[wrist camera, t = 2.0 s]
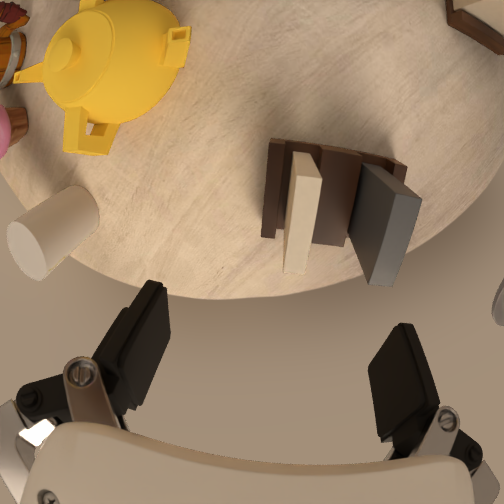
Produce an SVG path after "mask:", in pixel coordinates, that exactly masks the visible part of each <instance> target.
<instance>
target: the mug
mask: <svg viewBox="0 0 504 504" xmlns="http://www.w3.org/2000/svg"><path fill="white" fill-rule="evenodd" d="M26 13H27V11H26V10H24V9H22V8H20V5H17V4H15V3H14V2H10V3H5V2H4V1H2V2H0V21H1V22H5V23H7V24H5V25H4V26H3V27H1V28H0V89H2V88H5V87H7V86H9V85H11V84H12V83H13V81H14V73H16V72H19V71H20V67H21V66H22V64H23V59H24V57H25V52H26V37H25V35H23V34H22V33H21V32H17V30H15V29H16V28H19V27H21V26H24V25H26V24H27V22H28V21H29V19H30V17H28V16H27V15H26Z"/></svg>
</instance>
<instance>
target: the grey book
mask: <svg viewBox="0 0 504 504" xmlns="http://www.w3.org/2000/svg"><path fill="white" fill-rule="evenodd" d="M421 203H422V199H421V198H420V197H419V196H418V195H417V194H415V193H414V192H413V191H412V190H411V189H409V188H408V187H407V186H406V185H404V184H403V183H402V182H401V181H399V180H398V179H397V178H395V177H394V176H393V175H392V174H390V173H389V172H388V171H386V170H385V169H383V168H382V167H381V166H378V165H373V164H368V163H363V162H362V164H361V169H360V175H359V180H358V185H357V190H356V195H355V200H354V204H353V209H352V213H351V218H350V222H349V226H348V231H347V232H348V234H349V237H350V239H351V242H352V244H353V247H354V249H355V252H356V254H357V257H358V259H359V262H360V264H361V267H362V270H363V272H364V275H365V277H366V280H367V283H368V284H369V285H378V286H389V287H392V286H393V284H394V281H395V279H396V276H397V274H398V271H399V269H400V266H401V264H402V261H403V258H404V256H405V253H406V250H407V247H408V244H409V241H410V238H411V235H412V232H413V229H414V226H415V223H416V220H417V216H418V213H419V210H420V206H421Z"/></svg>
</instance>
